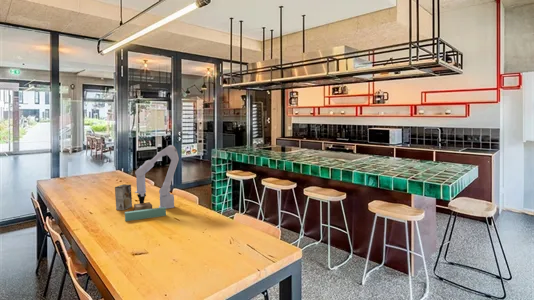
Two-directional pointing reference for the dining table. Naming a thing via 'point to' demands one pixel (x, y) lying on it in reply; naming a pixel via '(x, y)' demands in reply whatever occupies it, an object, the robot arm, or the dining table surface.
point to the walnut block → (142, 206)
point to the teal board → (145, 214)
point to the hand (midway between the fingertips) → (141, 204)
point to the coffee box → (123, 197)
